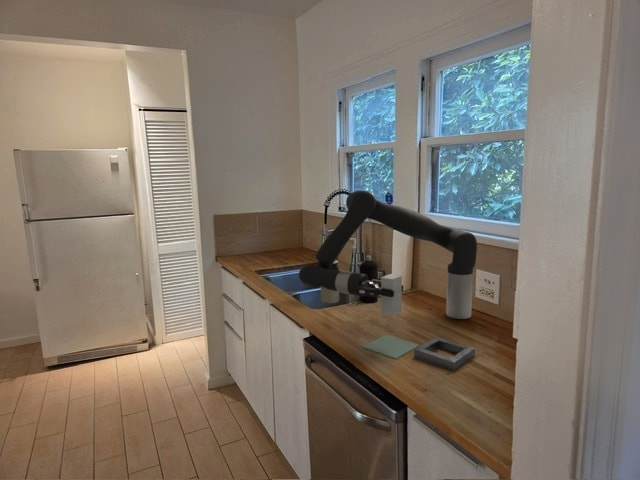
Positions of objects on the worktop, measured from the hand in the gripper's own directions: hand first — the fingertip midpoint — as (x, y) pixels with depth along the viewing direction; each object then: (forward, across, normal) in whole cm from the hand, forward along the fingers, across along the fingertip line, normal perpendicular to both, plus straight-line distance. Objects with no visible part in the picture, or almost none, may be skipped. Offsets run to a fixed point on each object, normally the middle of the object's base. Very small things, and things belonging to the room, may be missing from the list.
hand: (398, 291), depth 129 cm
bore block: (+15, +2, +19) cm, 24 cm away
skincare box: (-2, 0, +8) cm, 8 cm away
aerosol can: (-32, +40, +19) cm, 54 cm away
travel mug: (-46, +30, +20) cm, 58 cm away
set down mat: (-2, 0, +19) cm, 19 cm away
